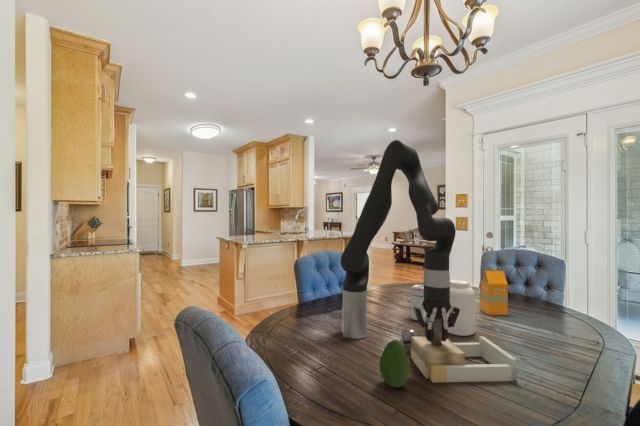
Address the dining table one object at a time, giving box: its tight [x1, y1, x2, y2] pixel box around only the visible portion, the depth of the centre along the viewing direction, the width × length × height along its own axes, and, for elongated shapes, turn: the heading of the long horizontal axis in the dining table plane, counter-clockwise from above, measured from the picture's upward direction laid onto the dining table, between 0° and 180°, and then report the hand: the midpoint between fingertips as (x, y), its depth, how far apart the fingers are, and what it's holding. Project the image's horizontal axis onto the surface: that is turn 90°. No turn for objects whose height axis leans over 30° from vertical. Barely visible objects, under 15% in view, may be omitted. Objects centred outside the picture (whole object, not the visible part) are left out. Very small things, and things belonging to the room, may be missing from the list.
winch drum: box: [399, 328, 421, 354], centre depth 104 cm, size 6×4×7 cm, turn 93°
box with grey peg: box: [410, 318, 466, 380], centre depth 92 cm, size 11×12×15 cm
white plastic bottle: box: [446, 278, 476, 337], centre depth 122 cm, size 12×12×20 cm
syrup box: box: [410, 284, 426, 322], centre depth 136 cm, size 6×6×14 cm
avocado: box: [378, 339, 411, 389], centre depth 82 cm, size 8×8×12 cm
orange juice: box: [480, 269, 509, 316], centre depth 146 cm, size 8×9×20 cm
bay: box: [430, 335, 518, 383], centre depth 93 cm, size 24×16×6 cm, turn 93°
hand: (436, 340), depth 92 cm, fingers open, 3 cm apart
